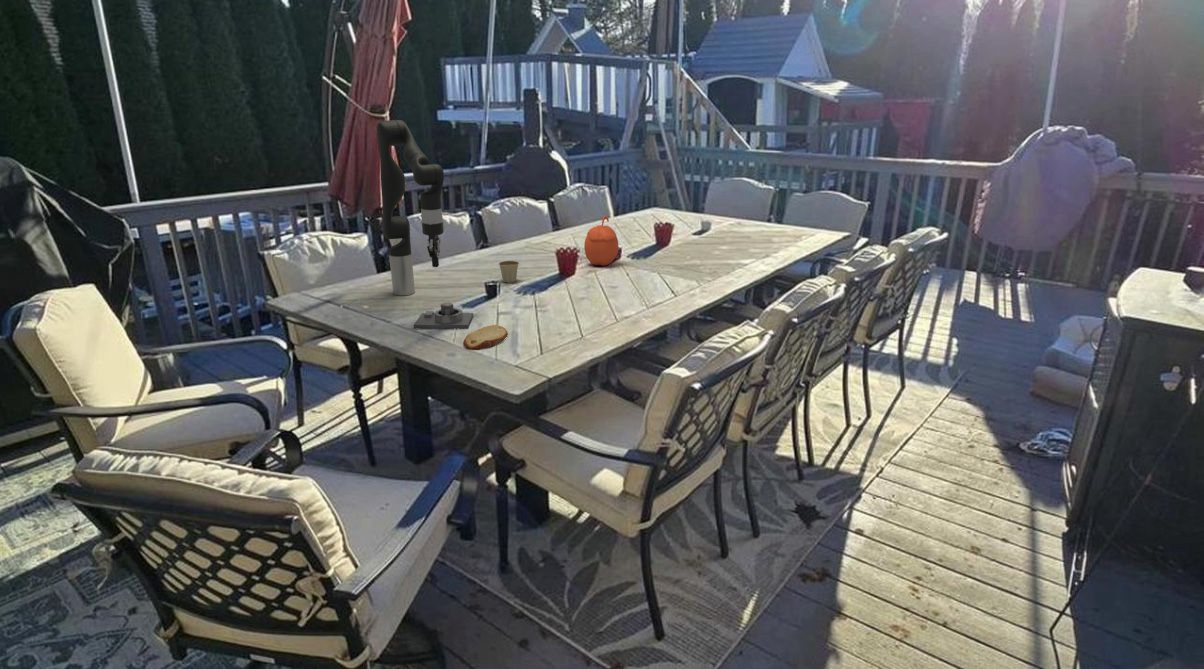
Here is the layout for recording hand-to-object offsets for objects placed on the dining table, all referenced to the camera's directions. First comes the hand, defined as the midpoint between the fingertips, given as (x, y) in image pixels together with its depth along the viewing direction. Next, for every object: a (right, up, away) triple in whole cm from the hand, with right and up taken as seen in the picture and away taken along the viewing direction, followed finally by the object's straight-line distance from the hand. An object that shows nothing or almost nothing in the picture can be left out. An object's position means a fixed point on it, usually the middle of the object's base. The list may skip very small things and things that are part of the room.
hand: (435, 266), depth 244 cm
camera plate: (+2, -21, +5) cm, 22 cm away
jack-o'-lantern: (+62, +10, +91) cm, 111 cm away
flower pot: (+19, -1, +60) cm, 63 cm away
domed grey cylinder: (+4, -20, +4) cm, 21 cm away
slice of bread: (+21, -28, -11) cm, 36 cm away
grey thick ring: (+4, -20, +4) cm, 21 cm away
